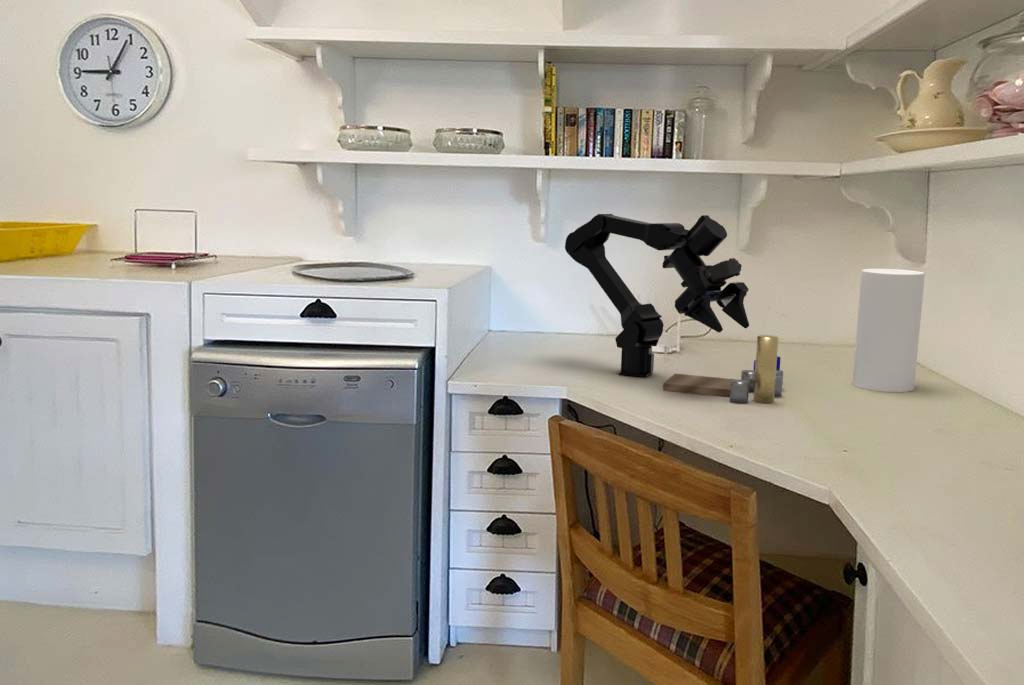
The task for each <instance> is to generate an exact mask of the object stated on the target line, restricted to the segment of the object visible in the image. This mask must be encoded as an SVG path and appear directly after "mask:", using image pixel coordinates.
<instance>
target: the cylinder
mask: <svg viewBox="0 0 1024 685" xmlns="http://www.w3.org/2000/svg"><path fill="white" fill-rule="evenodd" d="M925 276H926V275H925V272H923V271H918V270H913V269H912V270H911V269H910V270H909V269H901V268H900V269H899V268H898V269H894V268H864V269H862V270H861V276H860V285H859V287H860V288H859V300H858V310H857V311H858V313H857V323H856V324H857V325H856V336H855V346H854V347H855V350H854V359H853V360H854V362H853V372H852V385H853V386H855V387H857V388H859V389H863V390H868V391H873V392H874V391H875V392H881V393H882V392H883V393H907V392H908V391H909V392H912V391H914V390H915V385H916V384H915V383H916V373H917V372H916V371H917V361H918V350H919V342H920V341H919V339H920V331H921V330H920V328H921V320H922V318H921V317H922V307H923V300H924V299H923V298H924V287H925V278H926V277H925Z"/></svg>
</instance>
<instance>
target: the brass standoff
mask: <svg viewBox="0 0 1024 685" xmlns="http://www.w3.org/2000/svg"><path fill="white" fill-rule="evenodd" d="M756 339H757V340H756V352H755V354H756V355H755V360H756V366H755V382H754V392H753V400H752V401H754V402H755V403H758V404H774V403H775V397H774V395H775V380H776V365H777V356H778V350H779V349H778V348H779V337H778V336H775V335H765V334H764V335H762V334H760V335H757V337H756Z"/></svg>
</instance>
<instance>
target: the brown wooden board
mask: <svg viewBox="0 0 1024 685" xmlns="http://www.w3.org/2000/svg"><path fill="white" fill-rule="evenodd" d="M731 380H739V379H737V378H735V379H734V378H727V377H725V378H724V377H716V376H715V377H713V376H705V375H695V374H693V375H692V374H683V373H674V374H673V375H671V376H670V377H669V378H667V380H665V381H664V382H663V388H662V390H663V391H665V390H666V391H667V392H676V393H688V394H696V395H707V396H716V397H725V398H726V397H727V398H730V386H731Z"/></svg>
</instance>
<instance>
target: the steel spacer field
mask: <svg viewBox="0 0 1024 685" xmlns="http://www.w3.org/2000/svg"><path fill="white" fill-rule="evenodd" d="M753 370H754V369H752V370H751V369H746V370H744V369H743V370H741V376H740V377H741V378H740V379H738V380H731V386H730V397H729V402H730V403H734V404H748V403H749V395H750V394H749V393H754V382H755V371H753ZM783 380H784V370H781V369H780V370H777V369H776V380H775V395H774V398H781V397H782V394H783Z"/></svg>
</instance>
